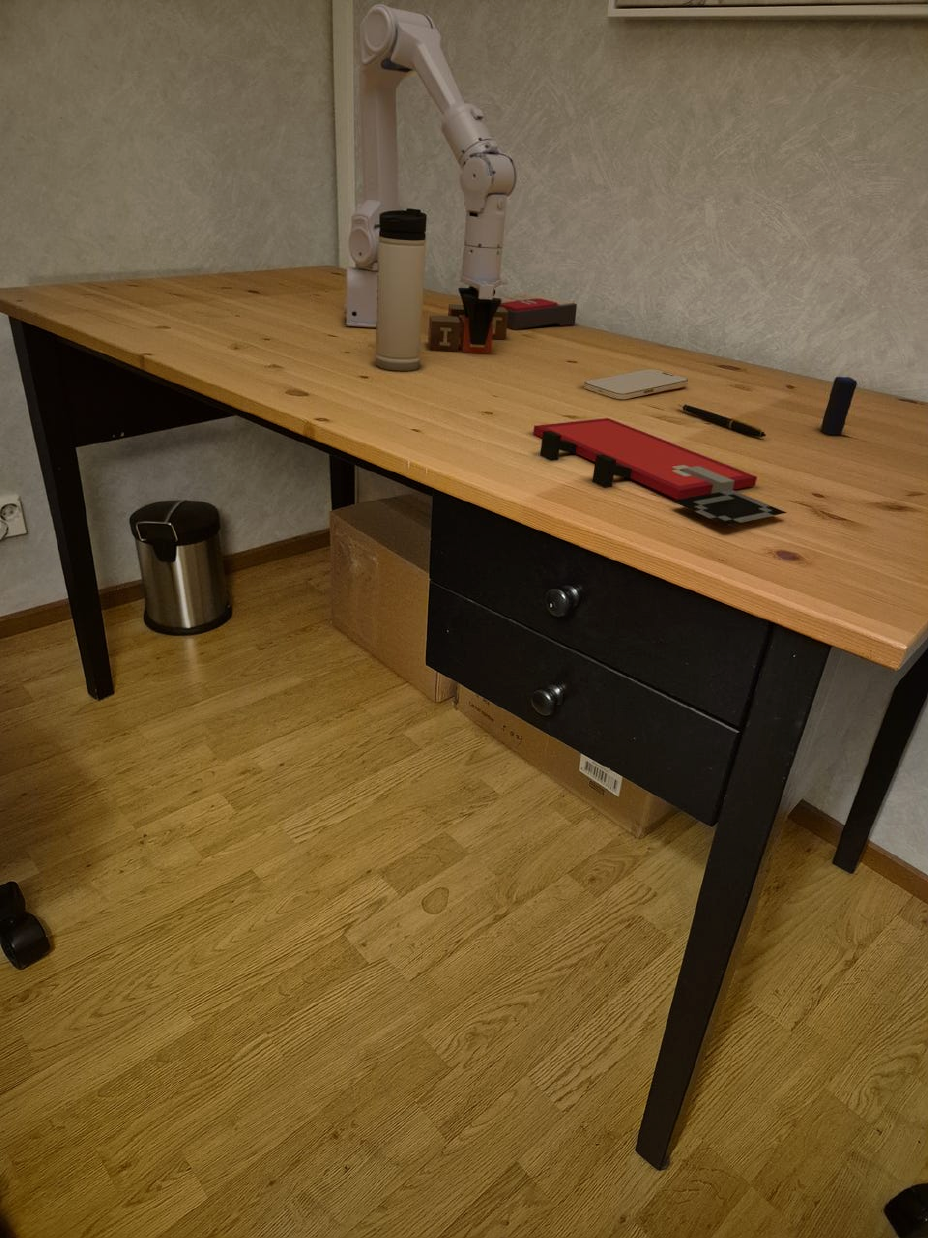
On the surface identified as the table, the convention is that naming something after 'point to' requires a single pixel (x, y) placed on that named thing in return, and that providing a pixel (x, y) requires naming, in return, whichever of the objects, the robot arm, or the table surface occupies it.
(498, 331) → the T block
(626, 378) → the smartphone
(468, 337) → the block
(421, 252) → the travel mug
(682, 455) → the red board with handle
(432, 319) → the I block front
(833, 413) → the eraser
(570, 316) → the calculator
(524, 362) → the table surface
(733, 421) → the fountain pen
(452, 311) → the dark brown cube block
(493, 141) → the robot arm
